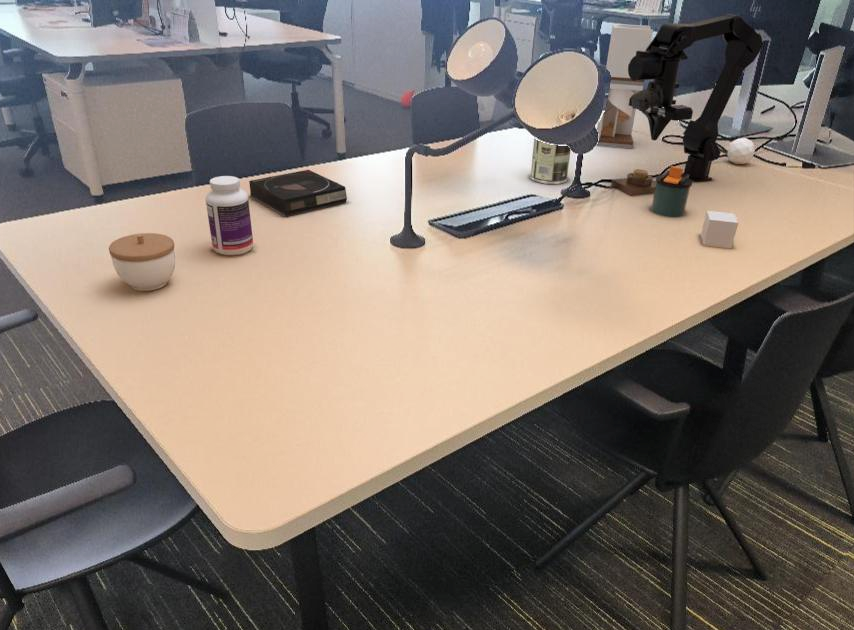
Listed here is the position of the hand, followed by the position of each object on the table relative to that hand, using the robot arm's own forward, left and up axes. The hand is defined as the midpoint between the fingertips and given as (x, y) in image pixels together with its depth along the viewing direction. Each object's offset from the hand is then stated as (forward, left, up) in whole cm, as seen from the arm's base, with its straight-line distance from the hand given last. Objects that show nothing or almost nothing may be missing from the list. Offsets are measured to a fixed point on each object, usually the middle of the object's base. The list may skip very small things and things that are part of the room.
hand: (653, 140), depth 187 cm
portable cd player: (+93, -15, -12) cm, 95 cm away
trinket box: (+130, +21, -12) cm, 132 cm away
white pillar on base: (-18, -39, -12) cm, 45 cm away
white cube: (+12, +40, -12) cm, 43 cm away
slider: (+10, +21, -4) cm, 24 cm away
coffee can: (+24, -12, -12) cm, 29 cm away
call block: (+5, +3, -12) cm, 13 cm away
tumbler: (+9, +20, -12) cm, 25 cm away
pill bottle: (+113, +10, -12) cm, 114 cm away
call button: (+5, +3, -9) cm, 11 cm away
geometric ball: (-42, -8, -12) cm, 45 cm away
